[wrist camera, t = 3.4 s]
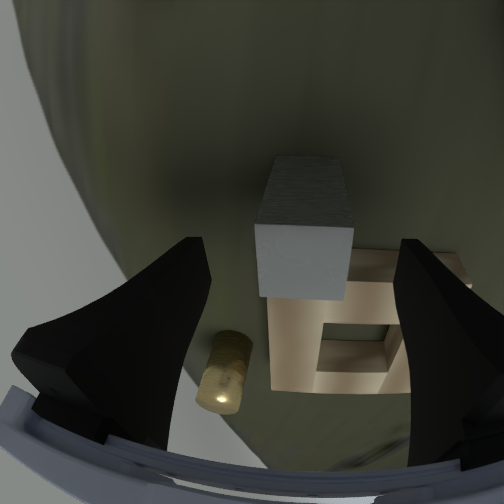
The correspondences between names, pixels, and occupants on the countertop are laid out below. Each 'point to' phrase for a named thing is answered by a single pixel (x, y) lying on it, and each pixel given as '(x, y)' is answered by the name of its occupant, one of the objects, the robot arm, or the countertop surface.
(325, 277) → the square bit
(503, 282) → the countertop surface
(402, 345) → the socket block
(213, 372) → the cylinder
